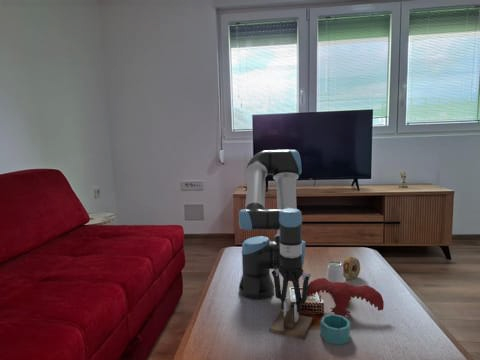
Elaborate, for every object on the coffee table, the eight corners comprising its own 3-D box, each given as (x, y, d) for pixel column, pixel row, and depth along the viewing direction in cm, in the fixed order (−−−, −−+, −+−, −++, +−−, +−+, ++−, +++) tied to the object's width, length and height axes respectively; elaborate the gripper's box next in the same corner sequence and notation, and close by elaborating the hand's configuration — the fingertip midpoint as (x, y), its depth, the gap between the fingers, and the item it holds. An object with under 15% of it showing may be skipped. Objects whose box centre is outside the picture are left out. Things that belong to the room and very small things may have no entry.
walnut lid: (269, 331, 109) (269, 318, 109) (280, 313, 120) (280, 302, 119) (303, 340, 104) (303, 326, 104) (312, 320, 115) (312, 308, 114)
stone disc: (347, 283, 143) (348, 261, 142) (340, 280, 146) (341, 259, 145) (361, 276, 149) (362, 256, 148) (354, 274, 152) (355, 254, 151)
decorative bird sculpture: (382, 333, 113) (384, 291, 121) (382, 327, 106) (384, 283, 114) (304, 316, 126) (310, 279, 133) (299, 309, 119) (306, 271, 126)
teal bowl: (318, 340, 104) (318, 325, 103) (324, 325, 112) (324, 312, 111) (347, 347, 100) (347, 332, 99) (350, 331, 108) (351, 317, 107)
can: (343, 294, 133) (344, 267, 131) (327, 293, 134) (328, 266, 132) (342, 287, 139) (342, 261, 137) (326, 286, 140) (327, 260, 139)
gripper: (264, 255, 109) (265, 319, 112) (311, 261, 102) (311, 330, 105) (272, 248, 116) (273, 309, 119) (316, 253, 109) (316, 318, 112)
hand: (291, 318), depth 112 cm, fingers closed on walnut lid, 3 cm apart
